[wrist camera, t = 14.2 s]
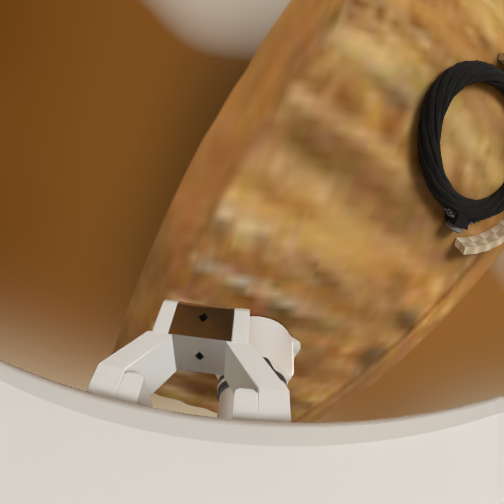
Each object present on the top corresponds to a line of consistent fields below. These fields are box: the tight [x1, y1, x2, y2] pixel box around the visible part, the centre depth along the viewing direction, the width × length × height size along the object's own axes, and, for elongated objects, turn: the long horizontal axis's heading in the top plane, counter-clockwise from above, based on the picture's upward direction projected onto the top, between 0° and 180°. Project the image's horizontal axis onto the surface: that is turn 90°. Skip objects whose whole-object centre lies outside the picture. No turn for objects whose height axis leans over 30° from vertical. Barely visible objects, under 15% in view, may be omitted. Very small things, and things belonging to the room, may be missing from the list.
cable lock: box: [418, 60, 504, 233], centre depth 36 cm, size 28×4×30 cm
